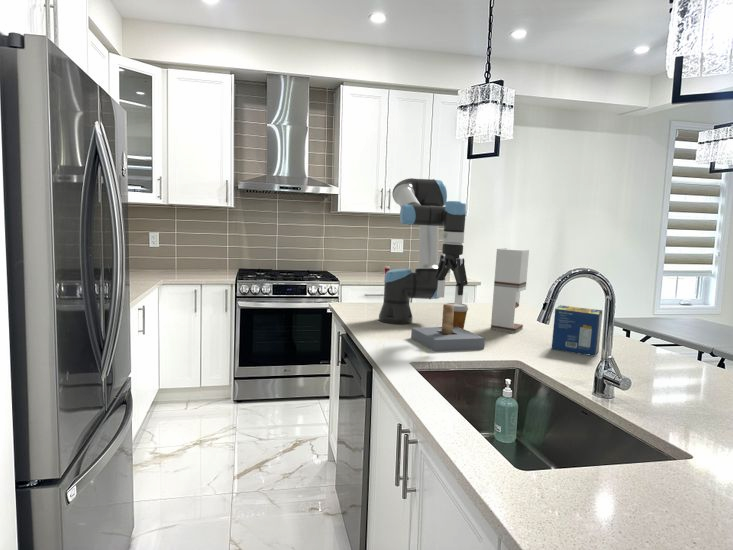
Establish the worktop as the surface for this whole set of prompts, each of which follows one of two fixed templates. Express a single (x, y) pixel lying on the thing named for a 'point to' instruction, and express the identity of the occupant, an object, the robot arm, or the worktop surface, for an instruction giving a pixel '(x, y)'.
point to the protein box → (576, 330)
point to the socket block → (447, 339)
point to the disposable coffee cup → (459, 314)
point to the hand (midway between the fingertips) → (449, 300)
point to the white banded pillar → (508, 288)
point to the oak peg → (447, 319)
